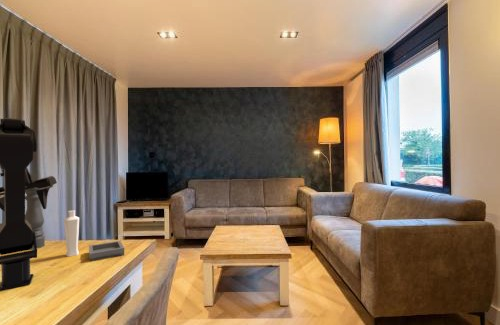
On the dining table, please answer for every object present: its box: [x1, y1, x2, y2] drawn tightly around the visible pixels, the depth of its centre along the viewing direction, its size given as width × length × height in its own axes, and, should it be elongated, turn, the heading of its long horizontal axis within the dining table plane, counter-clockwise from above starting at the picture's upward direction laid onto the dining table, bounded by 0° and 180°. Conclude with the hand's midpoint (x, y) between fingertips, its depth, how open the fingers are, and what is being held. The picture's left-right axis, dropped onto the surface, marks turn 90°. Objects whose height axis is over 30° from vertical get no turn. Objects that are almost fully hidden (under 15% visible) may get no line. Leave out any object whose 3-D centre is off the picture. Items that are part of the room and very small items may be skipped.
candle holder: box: [25, 187, 46, 250], centre depth 102 cm, size 6×6×25 cm
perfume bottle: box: [63, 209, 80, 257], centre depth 93 cm, size 5×4×15 cm
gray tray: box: [88, 240, 125, 262], centre depth 93 cm, size 10×10×2 cm
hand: (29, 212), depth 89 cm, fingers open, 9 cm apart
